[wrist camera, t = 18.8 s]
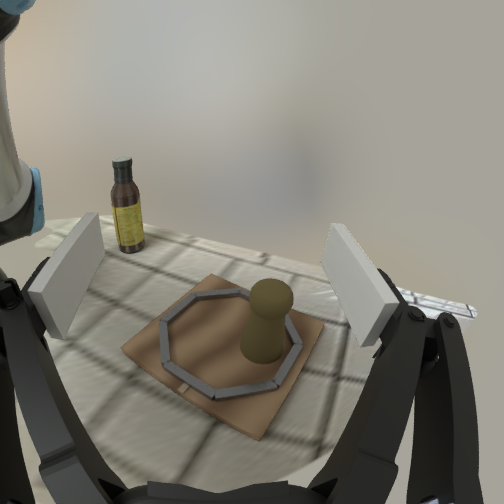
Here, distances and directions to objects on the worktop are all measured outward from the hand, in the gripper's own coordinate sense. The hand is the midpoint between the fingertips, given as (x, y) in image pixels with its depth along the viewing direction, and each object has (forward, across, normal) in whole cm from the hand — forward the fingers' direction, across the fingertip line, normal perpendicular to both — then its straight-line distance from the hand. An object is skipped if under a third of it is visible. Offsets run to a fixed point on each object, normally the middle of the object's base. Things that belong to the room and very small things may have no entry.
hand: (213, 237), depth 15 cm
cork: (+10, +7, -23) cm, 26 cm away
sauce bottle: (+38, -18, -25) cm, 49 cm away
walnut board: (+12, +3, -24) cm, 27 cm away
